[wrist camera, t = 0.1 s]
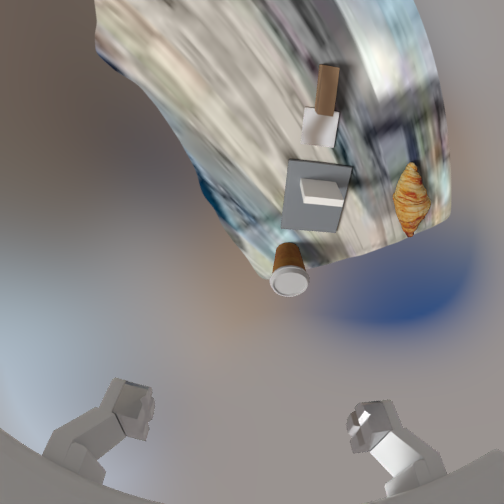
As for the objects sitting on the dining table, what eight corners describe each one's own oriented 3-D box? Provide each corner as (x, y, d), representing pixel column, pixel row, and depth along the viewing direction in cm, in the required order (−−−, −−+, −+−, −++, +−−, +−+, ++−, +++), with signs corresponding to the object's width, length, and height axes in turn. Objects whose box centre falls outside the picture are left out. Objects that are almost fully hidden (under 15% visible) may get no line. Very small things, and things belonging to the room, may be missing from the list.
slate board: (288, 159, 55) (289, 160, 55) (351, 166, 55) (351, 168, 54) (280, 226, 67) (280, 228, 66) (334, 230, 67) (335, 232, 66)
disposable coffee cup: (312, 248, 71) (318, 281, 62) (290, 269, 77) (292, 302, 68) (284, 231, 68) (286, 264, 59) (262, 254, 74) (261, 288, 65)
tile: (300, 178, 57) (304, 196, 51) (335, 182, 57) (343, 200, 51) (299, 185, 58) (303, 203, 52) (334, 188, 58) (342, 207, 52)
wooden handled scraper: (344, 68, 41) (350, 70, 38) (332, 146, 52) (337, 153, 49) (309, 62, 41) (312, 63, 38) (300, 142, 53) (302, 149, 50)
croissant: (392, 155, 55) (389, 169, 51) (431, 158, 50) (433, 173, 45) (395, 225, 68) (391, 244, 64) (428, 230, 62) (427, 249, 58)
